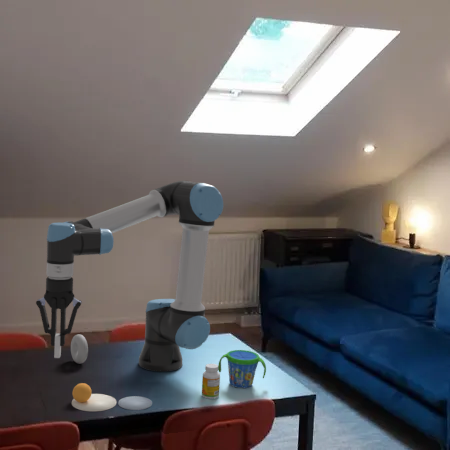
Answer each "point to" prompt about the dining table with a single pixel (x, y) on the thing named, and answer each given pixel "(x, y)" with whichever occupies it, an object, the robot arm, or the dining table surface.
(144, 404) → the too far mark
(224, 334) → the dining table surface
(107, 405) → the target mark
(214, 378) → the supplement bottle
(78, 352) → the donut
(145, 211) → the robot arm
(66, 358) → the dining table surface
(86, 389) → the ball
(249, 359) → the snack cup
